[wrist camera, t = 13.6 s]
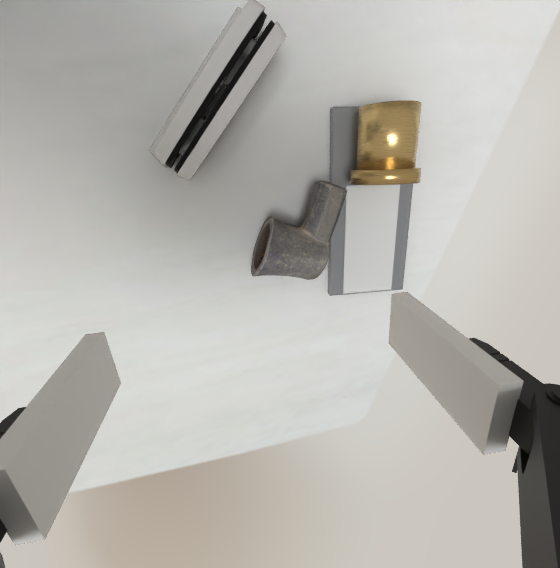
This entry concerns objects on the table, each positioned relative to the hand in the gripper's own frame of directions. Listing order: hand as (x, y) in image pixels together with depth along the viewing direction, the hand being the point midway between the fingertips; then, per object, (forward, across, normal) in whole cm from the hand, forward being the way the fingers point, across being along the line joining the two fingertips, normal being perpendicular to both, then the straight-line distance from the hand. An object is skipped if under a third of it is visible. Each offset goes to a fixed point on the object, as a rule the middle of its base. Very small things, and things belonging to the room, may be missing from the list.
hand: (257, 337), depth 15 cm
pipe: (+24, +10, -3) cm, 26 cm away
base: (+26, +16, +1) cm, 30 cm away
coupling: (+26, +16, +8) cm, 32 cm away
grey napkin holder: (+27, -2, +13) cm, 30 cm away
